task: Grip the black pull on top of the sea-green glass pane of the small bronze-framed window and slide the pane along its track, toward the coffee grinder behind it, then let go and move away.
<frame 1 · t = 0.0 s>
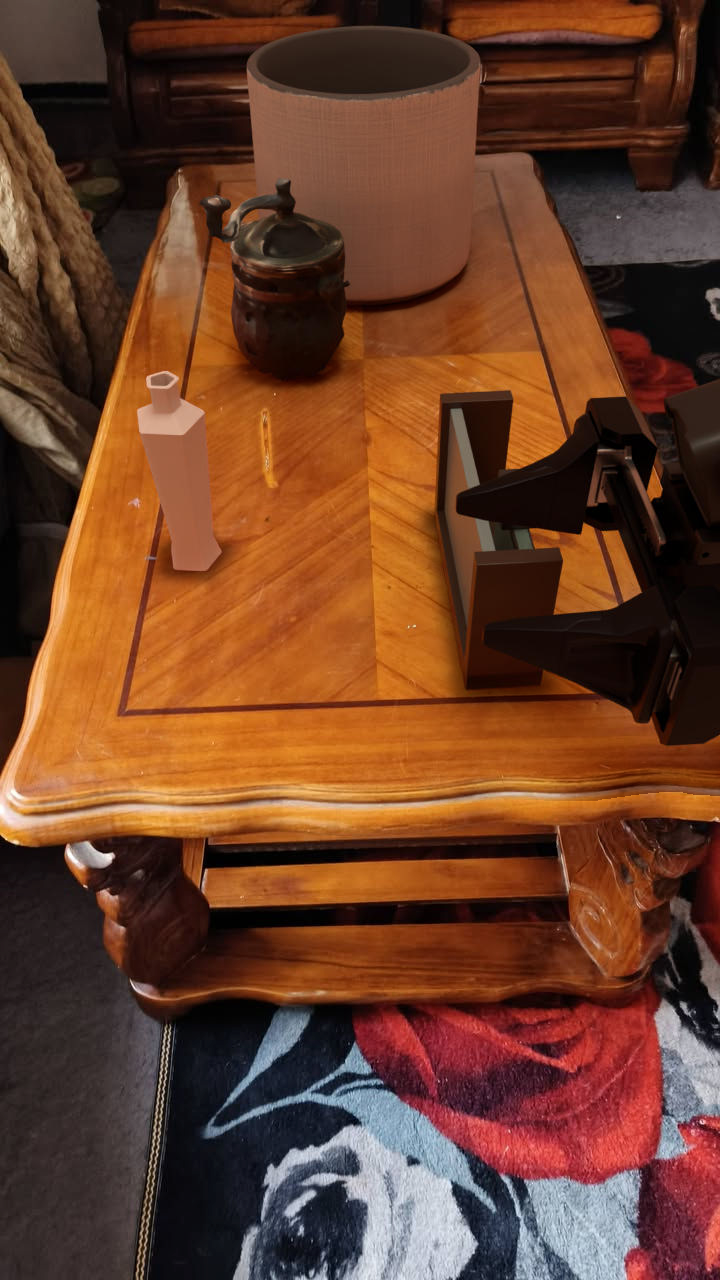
hand: (468, 564, 45), 17 cm above the table, tool horizontal, fingers open, 9 cm apart
perfume bottle: (195, 555, 73), on the table
window frame: (482, 593, 69), on the table
coffee grinder: (285, 370, 91), on the table
planter: (366, 265, 105), on the table
pane: (512, 552, 61), point 7 cm above the table, slide at 0.0 cm
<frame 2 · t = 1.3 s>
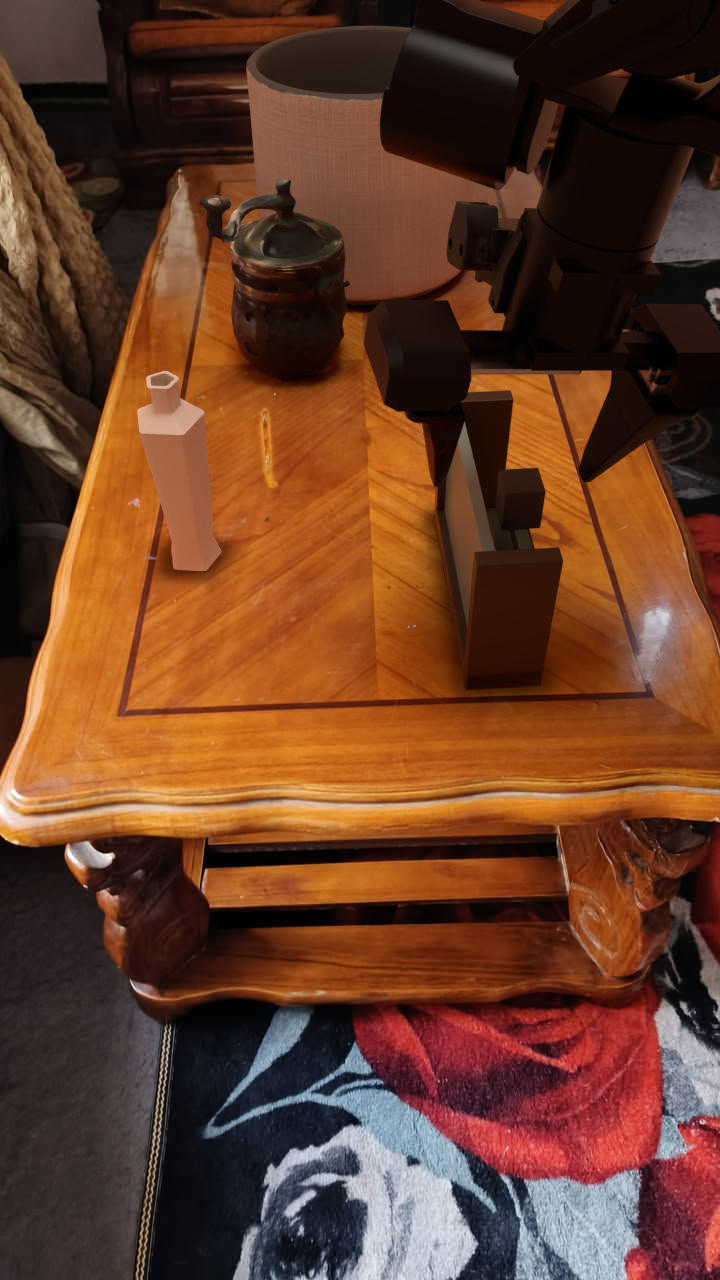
hand: (510, 479, 55), 14 cm above the table, tool pointing down, fingers open, 9 cm apart
nothing on the table moved.
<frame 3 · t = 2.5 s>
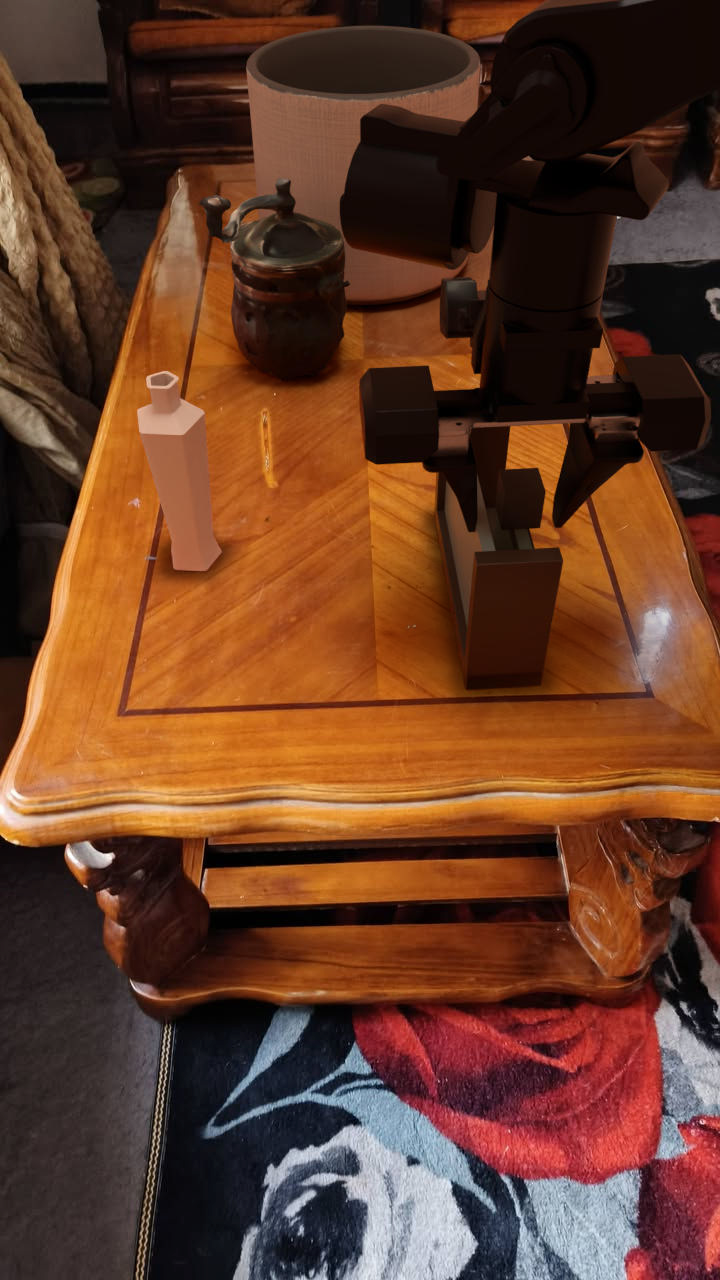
hand: (513, 525, 59), 9 cm above the table, tool pointing down, fingers open, 5 cm apart
nothing on the table moved.
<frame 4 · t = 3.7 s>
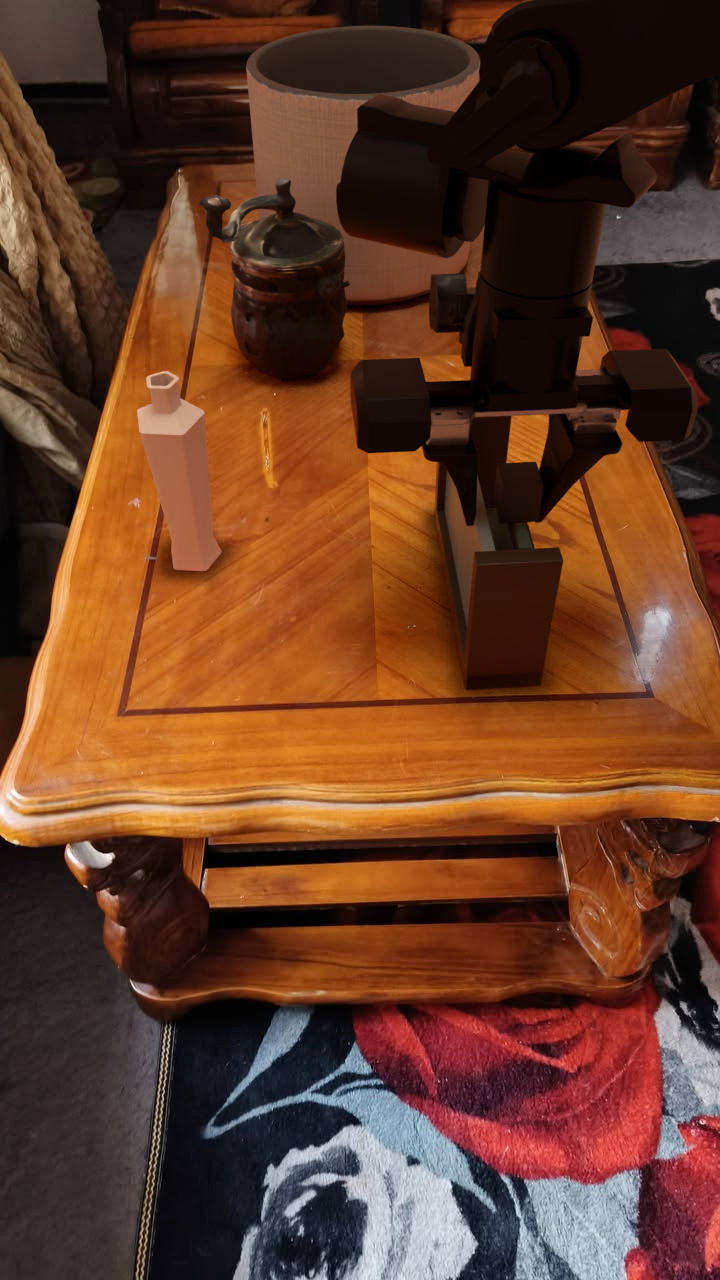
hand: (502, 520, 60), 9 cm above the table, tool pointing down, fingers open, 4 cm apart
pane: (511, 546, 61), point 7 cm above the table, slide at 0.6 cm, touching gripper
everything else where it was.
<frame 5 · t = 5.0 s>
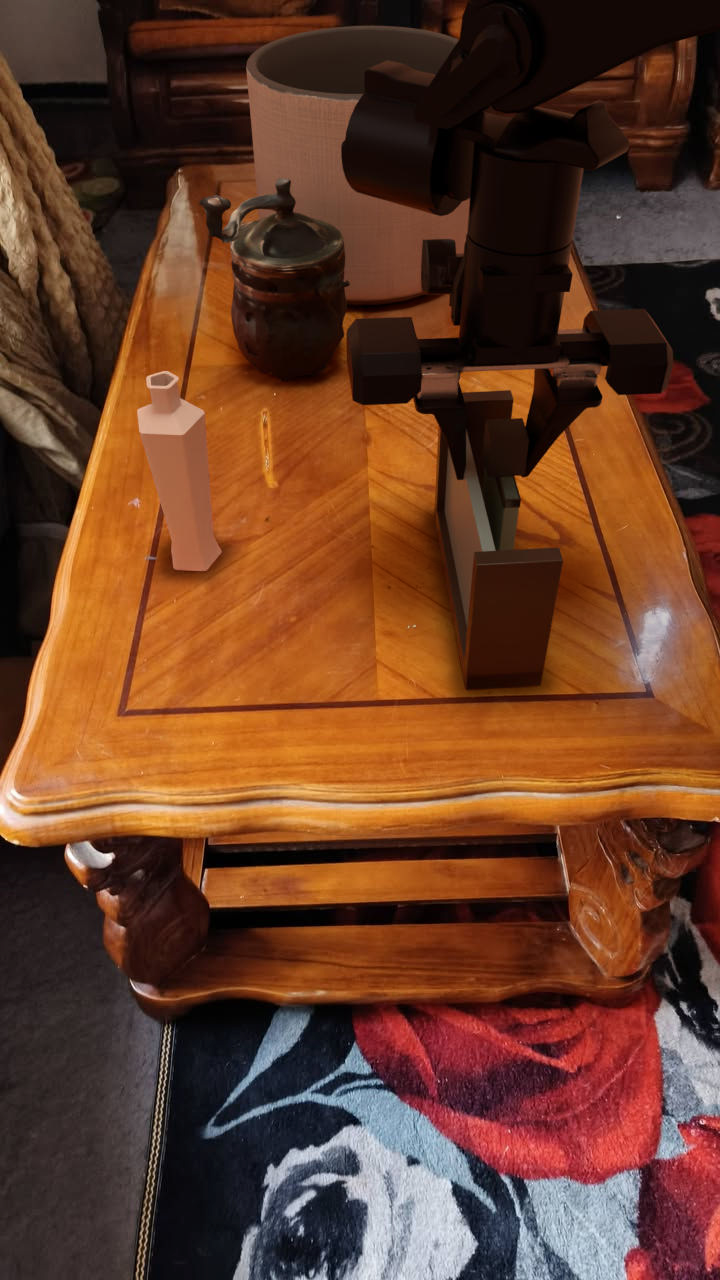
hand: (491, 474, 63), 9 cm above the table, tool pointing down, fingers open, 4 cm apart
pane: (499, 500, 65), point 7 cm above the table, slide at 5.3 cm, touching gripper
everything else where it was.
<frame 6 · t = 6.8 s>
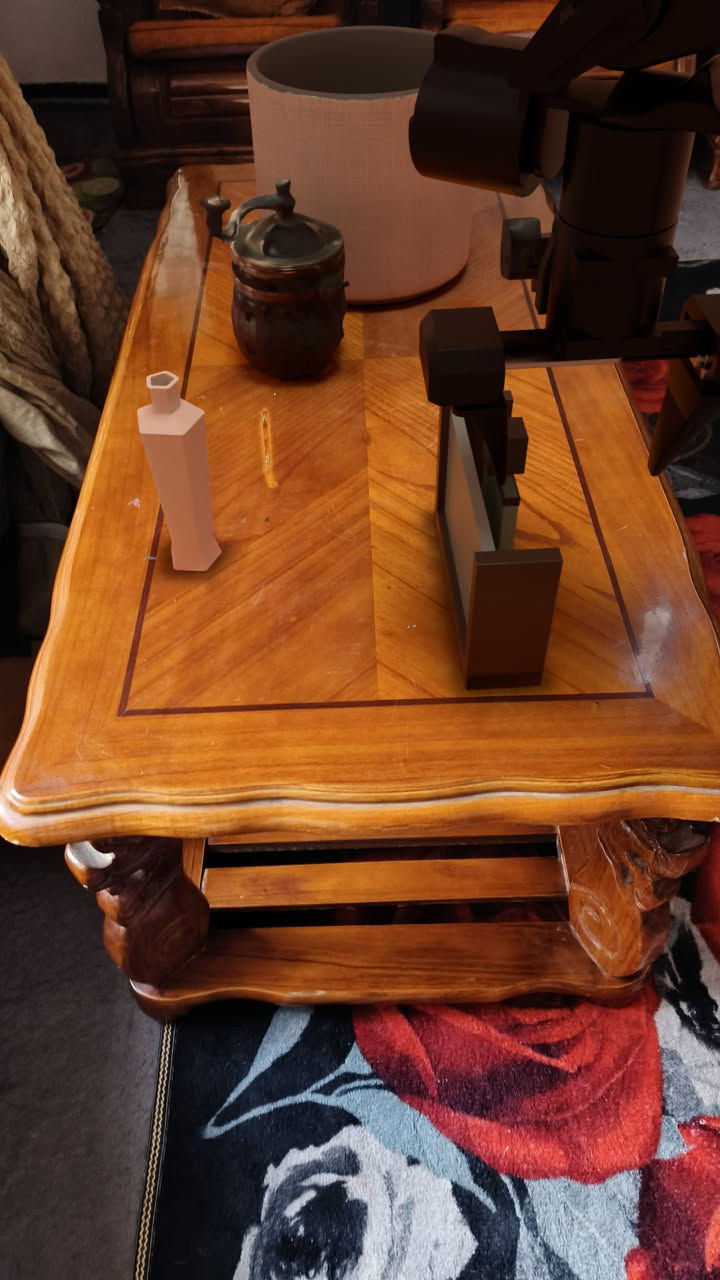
hand: (576, 476, 58), 13 cm above the table, tool pointing down, fingers open, 9 cm apart
pane: (499, 499, 65), point 7 cm above the table, slide at 5.5 cm
everything else where it was.
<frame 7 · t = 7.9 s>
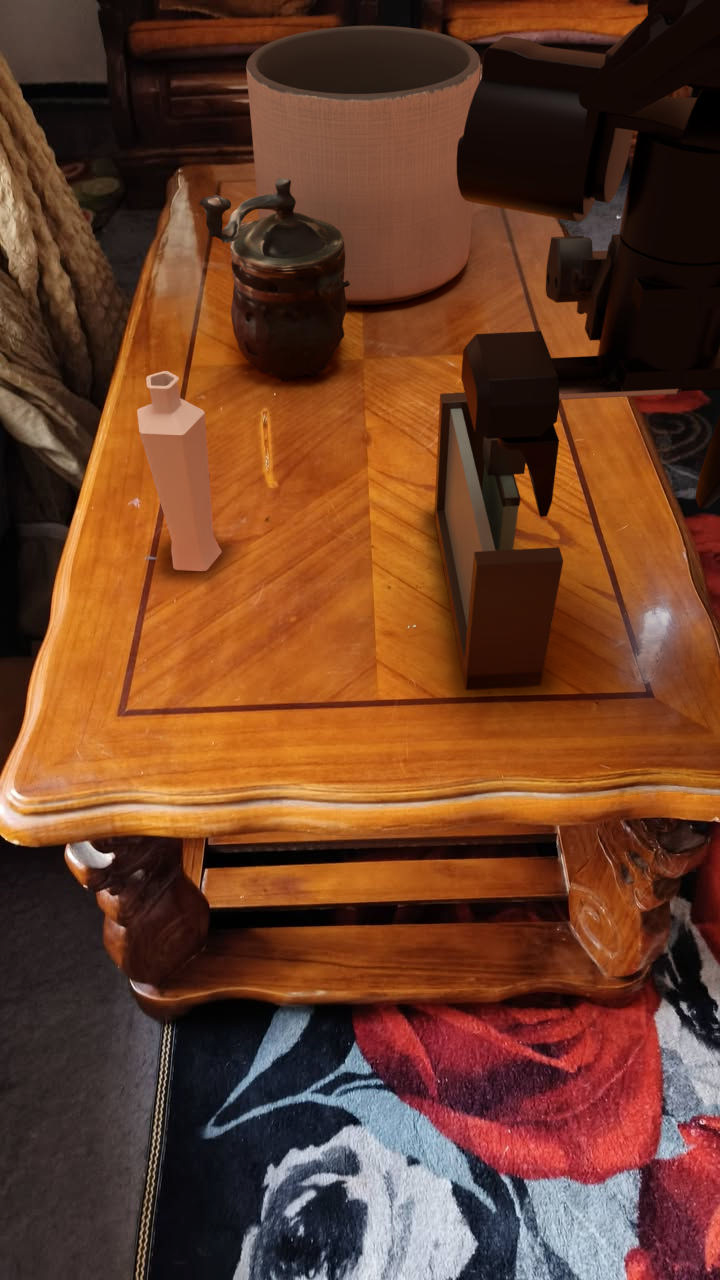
hand: (621, 507, 55), 13 cm above the table, tool pointing down, fingers open, 9 cm apart
nothing on the table moved.
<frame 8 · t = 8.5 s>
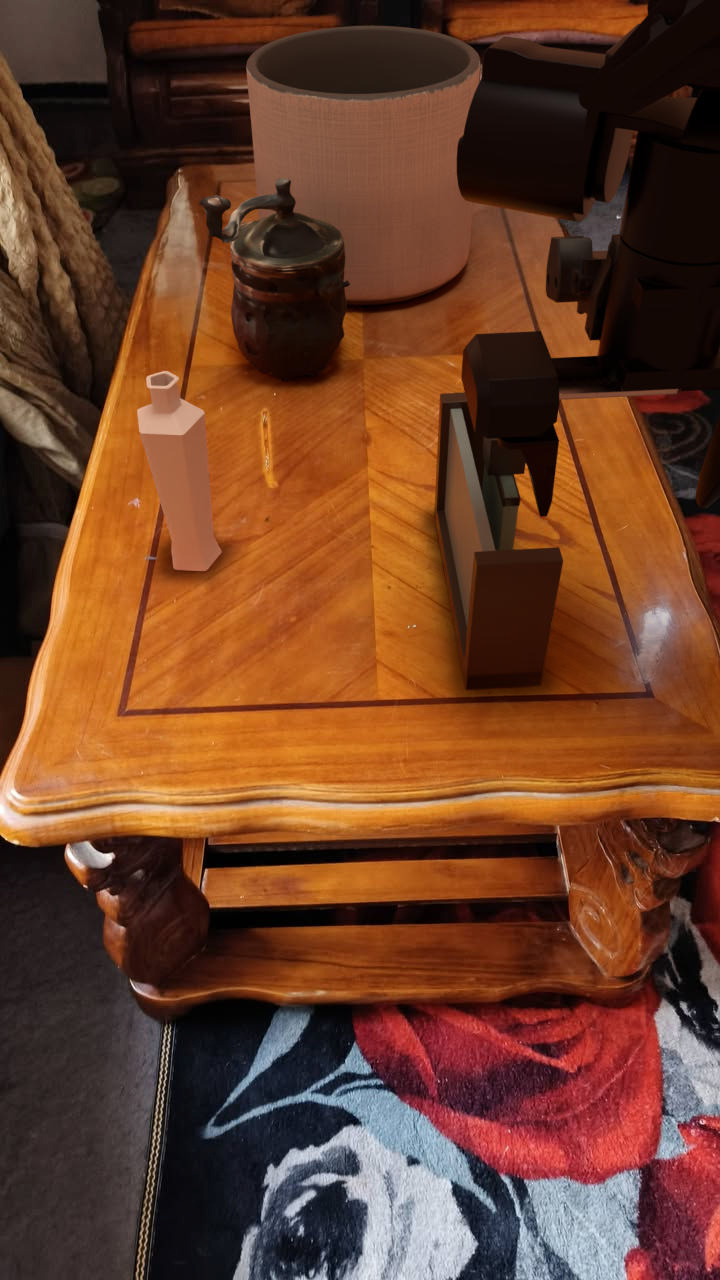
hand: (621, 507, 55), 13 cm above the table, tool pointing down, fingers open, 9 cm apart
nothing on the table moved.
at the end: pane slide at 5.5 cm; coffee grinder moved 0.2 cm from its start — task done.
